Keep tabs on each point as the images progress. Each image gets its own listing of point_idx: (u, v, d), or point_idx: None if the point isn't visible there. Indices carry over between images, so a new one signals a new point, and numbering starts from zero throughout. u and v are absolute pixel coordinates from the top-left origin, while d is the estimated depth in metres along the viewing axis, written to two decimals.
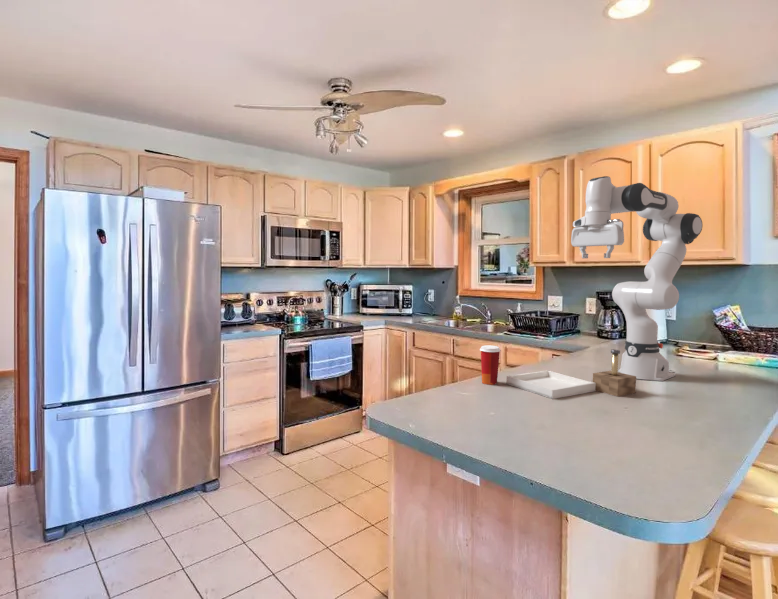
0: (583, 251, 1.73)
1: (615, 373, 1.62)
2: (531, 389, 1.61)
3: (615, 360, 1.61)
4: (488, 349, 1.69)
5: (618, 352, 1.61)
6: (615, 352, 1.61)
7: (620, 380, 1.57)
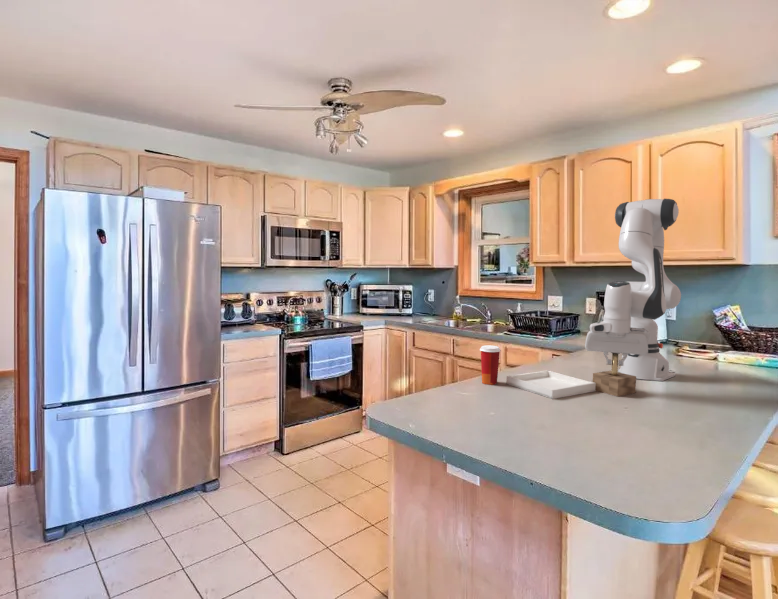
0: (607, 357, 1.63)
1: (615, 373, 1.62)
2: (531, 389, 1.61)
3: (615, 360, 1.61)
4: (488, 349, 1.69)
5: None
6: None
7: (620, 380, 1.57)
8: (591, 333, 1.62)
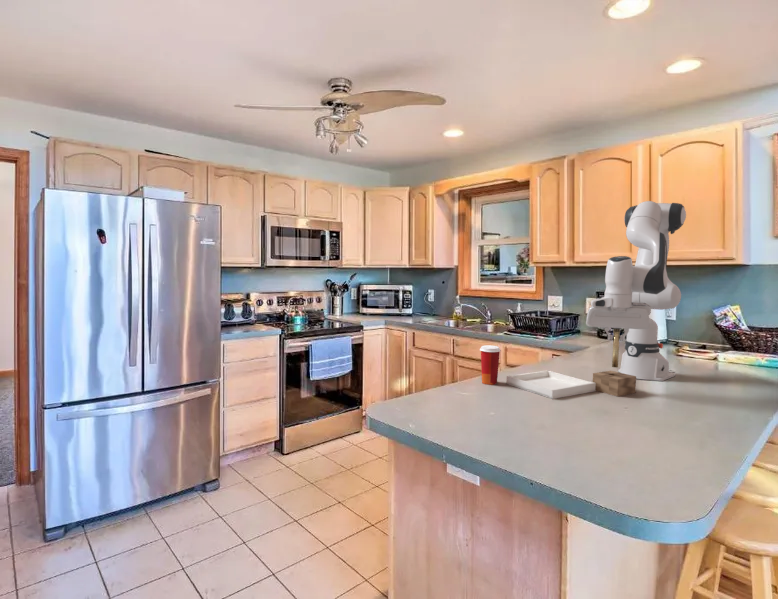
0: (608, 332, 1.62)
1: (616, 348, 1.61)
2: (531, 389, 1.61)
3: (616, 335, 1.61)
4: (488, 349, 1.69)
5: None
6: None
7: (620, 380, 1.57)
8: (592, 309, 1.62)
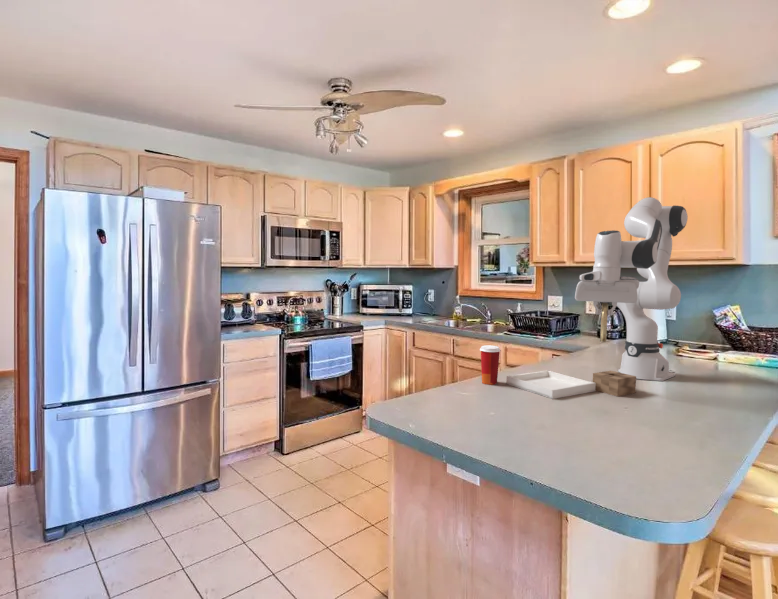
0: None
1: (605, 323, 1.61)
2: (531, 389, 1.61)
3: (605, 309, 1.61)
4: (488, 349, 1.69)
5: None
6: None
7: (620, 380, 1.57)
8: (581, 282, 1.62)
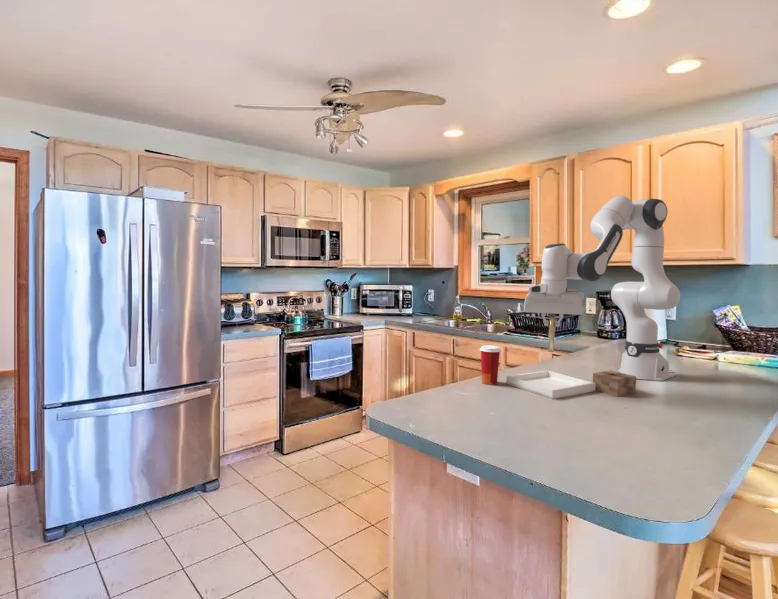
0: (544, 318, 1.66)
1: (552, 333, 1.65)
2: (531, 389, 1.61)
3: (552, 320, 1.65)
4: (488, 349, 1.69)
5: None
6: (552, 313, 1.64)
7: (620, 380, 1.57)
8: (529, 294, 1.66)
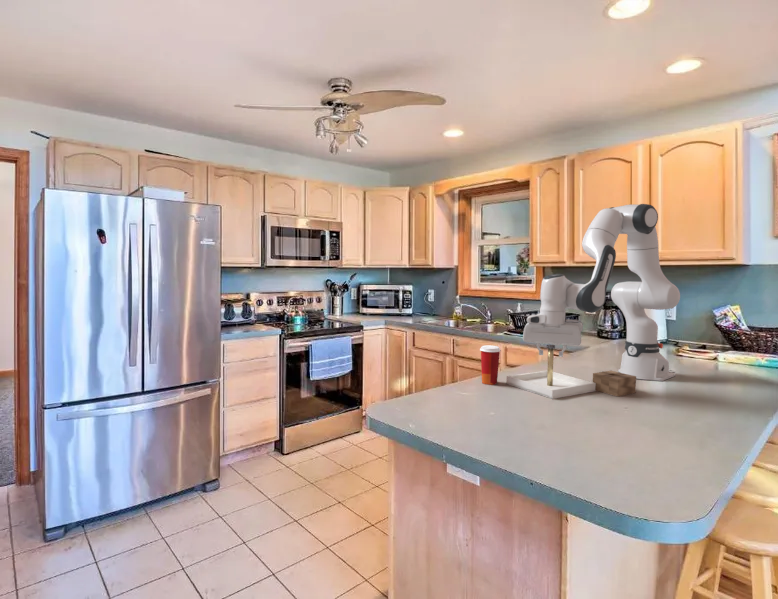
0: (539, 347, 1.68)
1: (551, 368, 1.66)
2: (531, 389, 1.61)
3: (550, 355, 1.65)
4: (488, 349, 1.69)
5: (553, 347, 1.65)
6: (550, 347, 1.65)
7: (620, 380, 1.57)
8: (528, 325, 1.66)
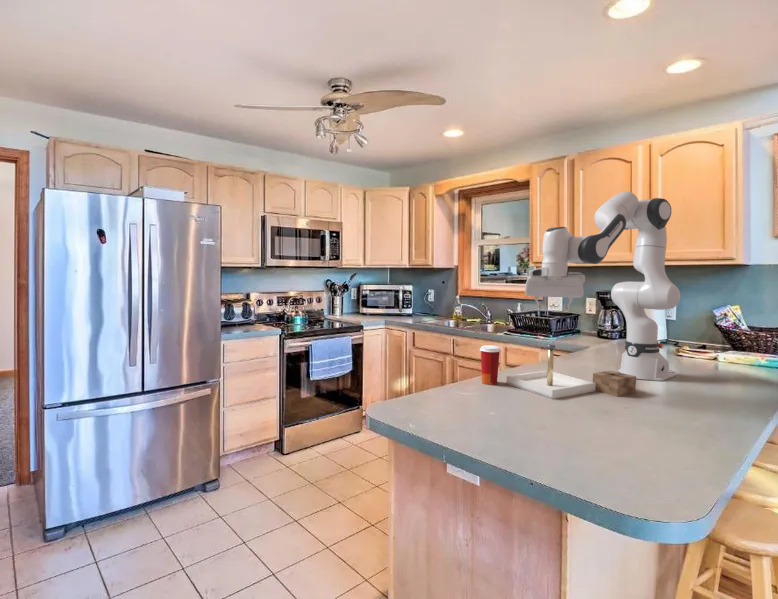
0: None
1: (551, 367, 1.66)
2: (531, 389, 1.61)
3: (550, 355, 1.66)
4: (488, 349, 1.69)
5: (553, 347, 1.65)
6: (550, 347, 1.65)
7: (620, 380, 1.57)
8: (530, 278, 1.65)
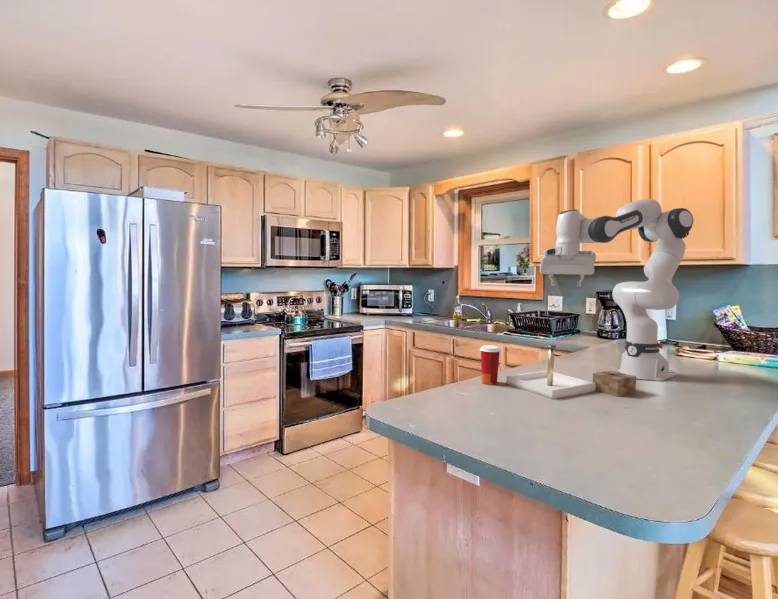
0: (551, 279, 1.81)
1: (551, 368, 1.66)
2: (531, 389, 1.61)
3: (551, 355, 1.65)
4: (488, 349, 1.69)
5: (554, 347, 1.65)
6: (551, 347, 1.65)
7: (620, 380, 1.57)
8: (544, 257, 1.79)
